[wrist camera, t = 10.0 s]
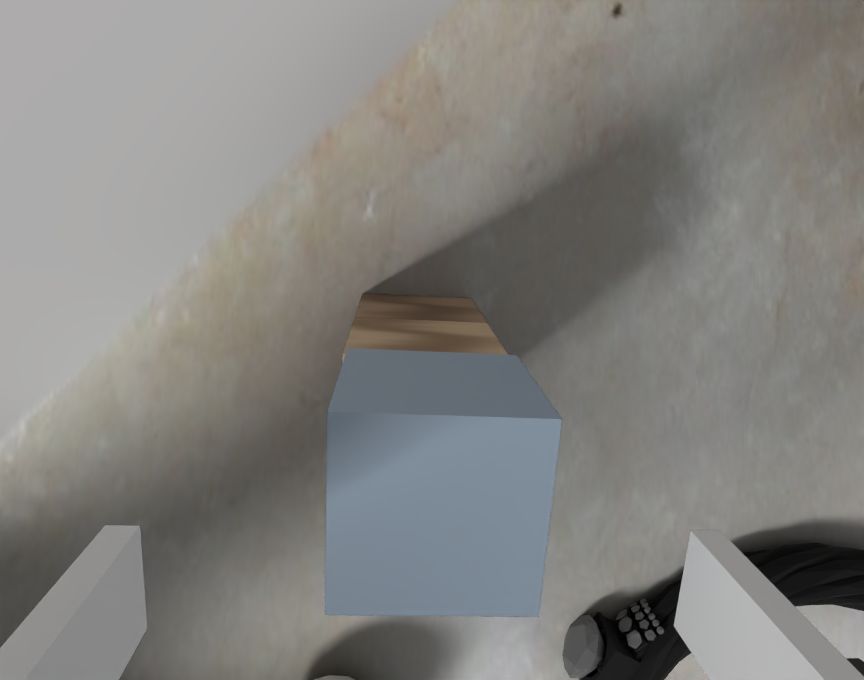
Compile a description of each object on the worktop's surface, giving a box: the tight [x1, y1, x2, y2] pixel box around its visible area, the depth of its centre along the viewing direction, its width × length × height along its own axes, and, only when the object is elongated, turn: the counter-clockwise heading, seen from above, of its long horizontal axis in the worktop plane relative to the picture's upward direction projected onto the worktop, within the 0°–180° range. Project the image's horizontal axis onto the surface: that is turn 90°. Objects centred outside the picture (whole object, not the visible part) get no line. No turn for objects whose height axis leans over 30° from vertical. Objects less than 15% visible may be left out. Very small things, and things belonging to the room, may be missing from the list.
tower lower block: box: [355, 293, 487, 323], centre depth 30 cm, size 6×6×6 cm
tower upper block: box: [342, 317, 508, 363], centre depth 24 cm, size 6×6×6 cm
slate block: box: [325, 348, 562, 617], centre depth 19 cm, size 6×6×6 cm
